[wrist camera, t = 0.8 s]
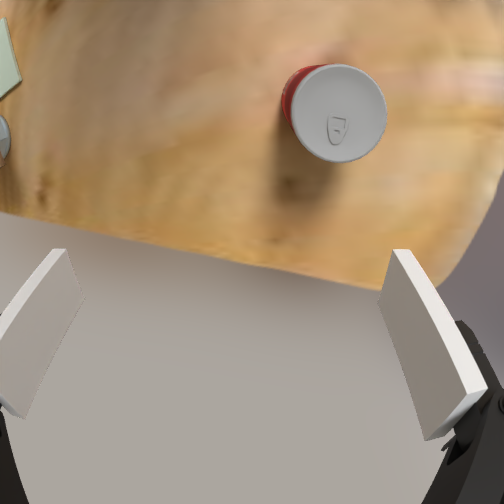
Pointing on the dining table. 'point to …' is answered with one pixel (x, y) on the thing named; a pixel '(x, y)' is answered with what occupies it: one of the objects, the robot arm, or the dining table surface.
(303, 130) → the canned food
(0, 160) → the cover
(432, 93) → the dining table surface
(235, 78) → the dining table surface
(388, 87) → the dining table surface
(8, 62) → the mat
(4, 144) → the bowl
